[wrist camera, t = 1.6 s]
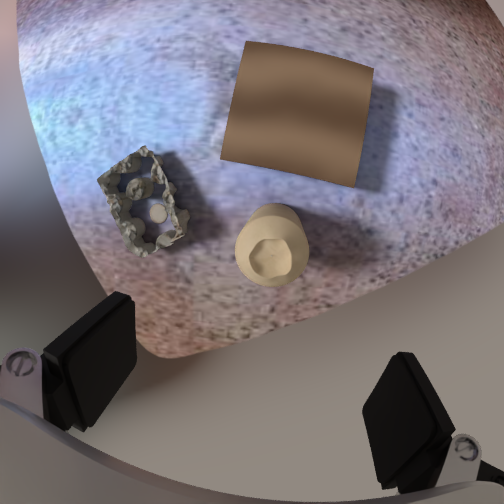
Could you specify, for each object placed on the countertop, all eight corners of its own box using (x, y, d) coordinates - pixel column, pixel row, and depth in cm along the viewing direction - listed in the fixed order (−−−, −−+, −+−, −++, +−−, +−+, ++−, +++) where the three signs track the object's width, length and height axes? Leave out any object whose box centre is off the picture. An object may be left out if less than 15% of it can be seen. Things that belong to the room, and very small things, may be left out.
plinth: (250, 56, 23) (245, 40, 19) (362, 80, 23) (373, 68, 19) (228, 160, 27) (220, 159, 23) (344, 185, 26) (353, 188, 23)
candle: (271, 191, 27) (265, 202, 18) (312, 225, 28) (327, 254, 18) (237, 232, 29) (216, 262, 19) (278, 264, 30) (275, 309, 20)
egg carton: (199, 229, 30) (187, 239, 26) (146, 254, 31) (130, 265, 27) (161, 143, 27) (144, 140, 23) (111, 174, 29) (91, 177, 25)
